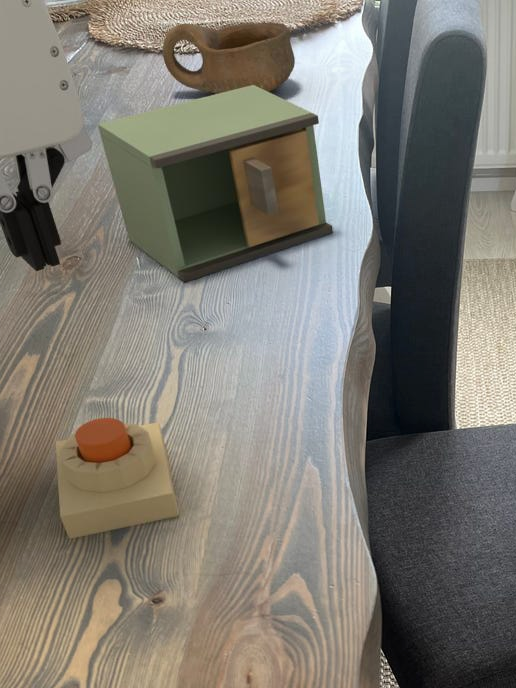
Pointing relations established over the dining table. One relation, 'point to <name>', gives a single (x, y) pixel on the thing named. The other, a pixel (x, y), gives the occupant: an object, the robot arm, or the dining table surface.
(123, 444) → the light button
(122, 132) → the cupboard
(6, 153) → the robot arm
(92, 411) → the dining table surface
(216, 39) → the brown clay cup
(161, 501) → the switch block
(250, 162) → the cupboard door
